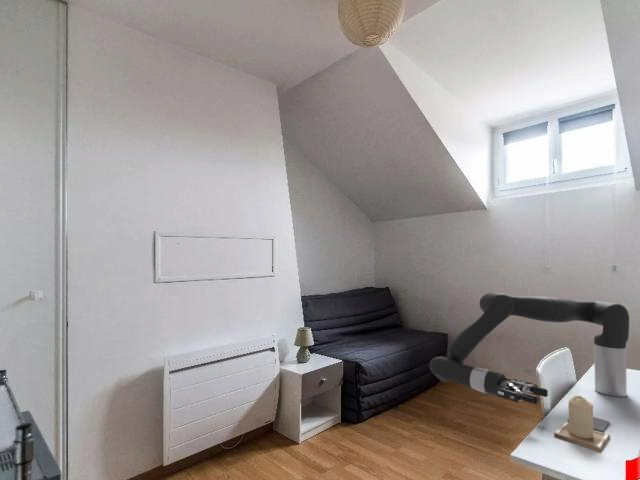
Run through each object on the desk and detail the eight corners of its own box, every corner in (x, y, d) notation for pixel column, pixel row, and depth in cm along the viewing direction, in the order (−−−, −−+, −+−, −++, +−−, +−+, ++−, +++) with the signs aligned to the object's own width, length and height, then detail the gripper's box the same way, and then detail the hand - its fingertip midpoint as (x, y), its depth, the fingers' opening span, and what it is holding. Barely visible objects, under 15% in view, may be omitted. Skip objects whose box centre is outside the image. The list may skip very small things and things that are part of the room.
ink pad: (575, 413, 115) (575, 411, 115) (609, 423, 109) (609, 421, 109) (567, 422, 109) (567, 420, 109) (602, 433, 103) (602, 430, 103)
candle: (597, 440, 97) (597, 402, 97) (574, 437, 98) (574, 400, 99) (586, 430, 102) (586, 394, 103) (565, 428, 104) (564, 393, 104)
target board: (565, 424, 108) (565, 420, 108) (609, 438, 100) (609, 434, 100) (554, 436, 100) (554, 432, 100) (600, 452, 93) (600, 448, 93)
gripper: (478, 374, 115) (534, 389, 103) (496, 366, 125) (550, 379, 112) (478, 398, 115) (534, 416, 103) (496, 388, 124) (550, 403, 112)
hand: (542, 396), depth 108 cm, fingers open, 8 cm apart
